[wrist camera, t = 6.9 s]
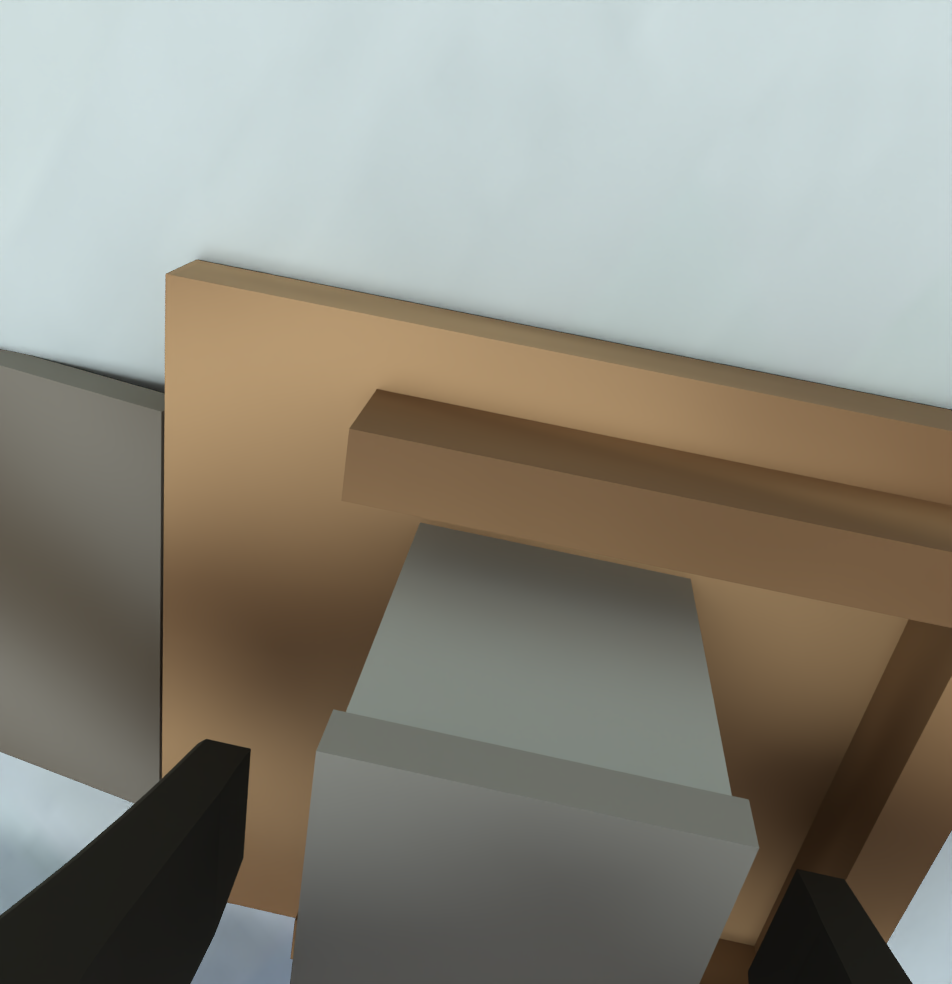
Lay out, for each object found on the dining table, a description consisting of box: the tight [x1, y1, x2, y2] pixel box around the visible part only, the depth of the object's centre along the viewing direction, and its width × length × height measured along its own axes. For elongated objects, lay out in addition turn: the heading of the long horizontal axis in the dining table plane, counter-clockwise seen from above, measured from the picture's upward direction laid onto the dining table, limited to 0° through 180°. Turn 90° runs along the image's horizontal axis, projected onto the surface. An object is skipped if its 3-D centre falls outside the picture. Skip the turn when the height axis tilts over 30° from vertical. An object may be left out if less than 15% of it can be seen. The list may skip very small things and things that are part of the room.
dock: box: [0, 260, 952, 984], centre depth 14 cm, size 12×18×3 cm, turn 80°
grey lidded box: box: [290, 523, 759, 984], centre depth 12 cm, size 6×4×5 cm
